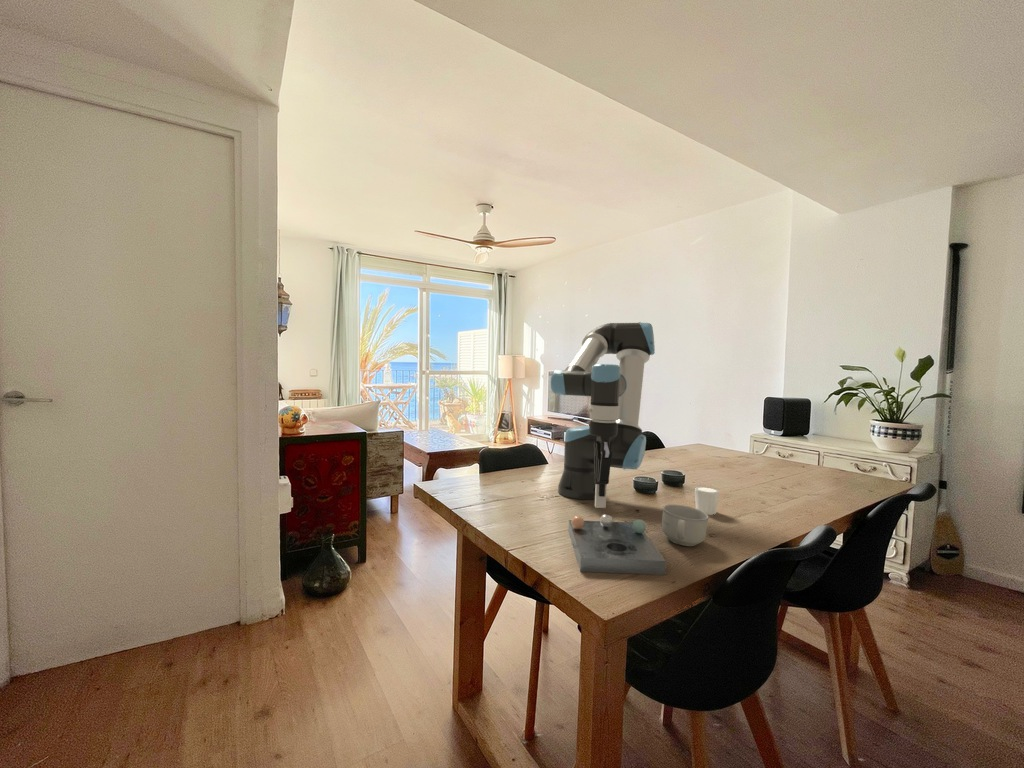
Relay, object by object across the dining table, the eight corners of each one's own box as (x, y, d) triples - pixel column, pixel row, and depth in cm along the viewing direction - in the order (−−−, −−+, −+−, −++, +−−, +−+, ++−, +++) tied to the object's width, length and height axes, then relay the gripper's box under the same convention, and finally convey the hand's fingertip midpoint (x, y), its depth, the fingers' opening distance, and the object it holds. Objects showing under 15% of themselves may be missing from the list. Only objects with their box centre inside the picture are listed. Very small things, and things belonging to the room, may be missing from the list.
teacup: (669, 529, 114) (670, 500, 114) (712, 541, 108) (713, 510, 107) (650, 545, 104) (651, 513, 103) (696, 559, 97) (698, 525, 96)
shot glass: (689, 510, 130) (690, 488, 130) (699, 506, 135) (700, 485, 135) (712, 517, 125) (713, 494, 125) (721, 512, 130) (722, 490, 130)
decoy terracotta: (570, 526, 107) (570, 513, 106) (583, 526, 106) (583, 514, 106) (572, 531, 103) (572, 518, 103) (585, 531, 103) (585, 518, 103)
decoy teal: (630, 530, 105) (631, 517, 105) (643, 530, 105) (643, 518, 105) (634, 535, 102) (634, 522, 102) (647, 535, 102) (647, 522, 102)
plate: (568, 531, 111) (568, 520, 111) (636, 533, 111) (637, 522, 111) (580, 571, 89) (580, 557, 89) (665, 574, 89) (666, 560, 89)
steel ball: (598, 524, 108) (598, 512, 108) (610, 524, 108) (611, 512, 108) (600, 529, 105) (601, 516, 105) (613, 529, 105) (614, 517, 105)
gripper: (586, 417, 120) (582, 499, 121) (594, 423, 107) (590, 514, 108) (612, 418, 120) (608, 500, 121) (623, 424, 107) (619, 515, 108)
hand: (600, 506), depth 114 cm, fingers closed
